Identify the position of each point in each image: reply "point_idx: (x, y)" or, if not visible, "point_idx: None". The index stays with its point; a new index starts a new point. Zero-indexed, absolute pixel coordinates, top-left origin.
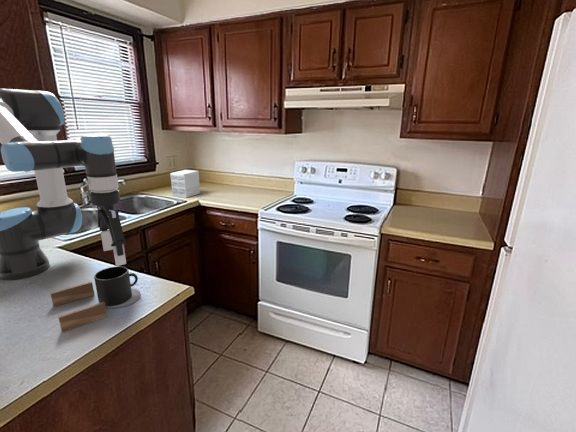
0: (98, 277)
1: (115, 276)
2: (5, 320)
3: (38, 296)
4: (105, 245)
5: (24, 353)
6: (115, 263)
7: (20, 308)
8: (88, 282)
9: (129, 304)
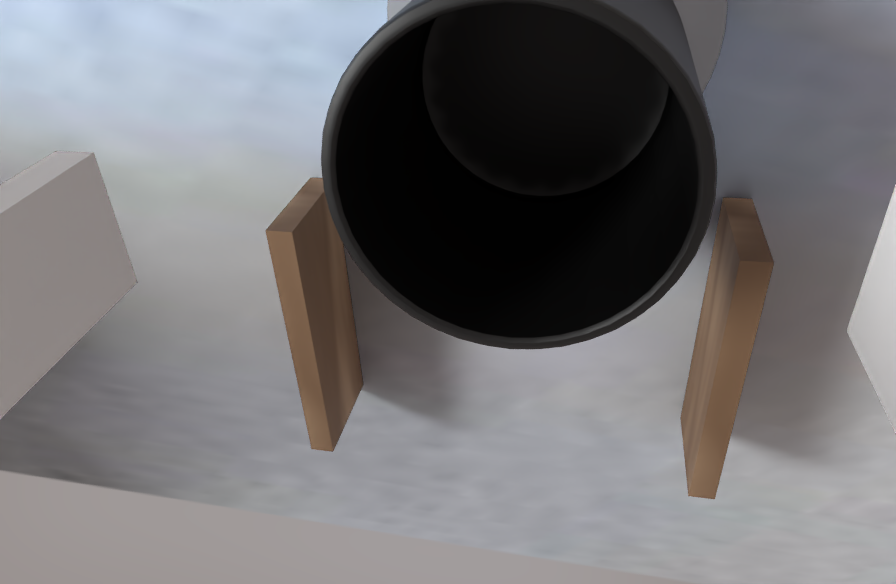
0: (416, 267)
1: (382, 79)
2: (369, 527)
3: (181, 403)
4: (67, 310)
5: (750, 545)
6: (864, 355)
7: (280, 475)
8: (277, 252)
9: (726, 3)
